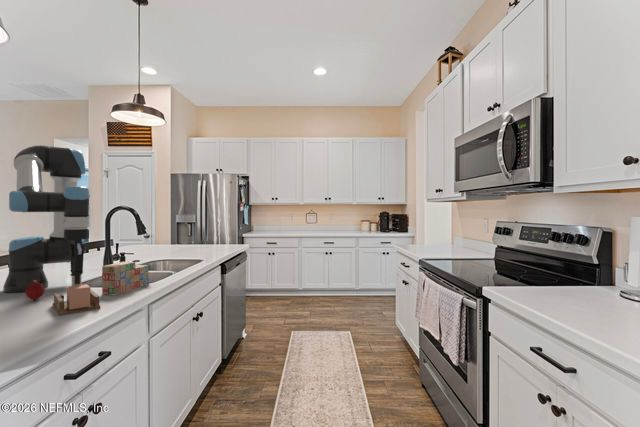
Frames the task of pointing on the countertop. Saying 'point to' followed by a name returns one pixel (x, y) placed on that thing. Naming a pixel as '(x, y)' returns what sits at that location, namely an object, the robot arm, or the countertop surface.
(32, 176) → the robot arm
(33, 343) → the countertop surface
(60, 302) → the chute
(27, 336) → the countertop surface
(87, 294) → the block
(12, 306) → the countertop surface
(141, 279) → the stack of blocks
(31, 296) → the onion
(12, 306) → the countertop surface
